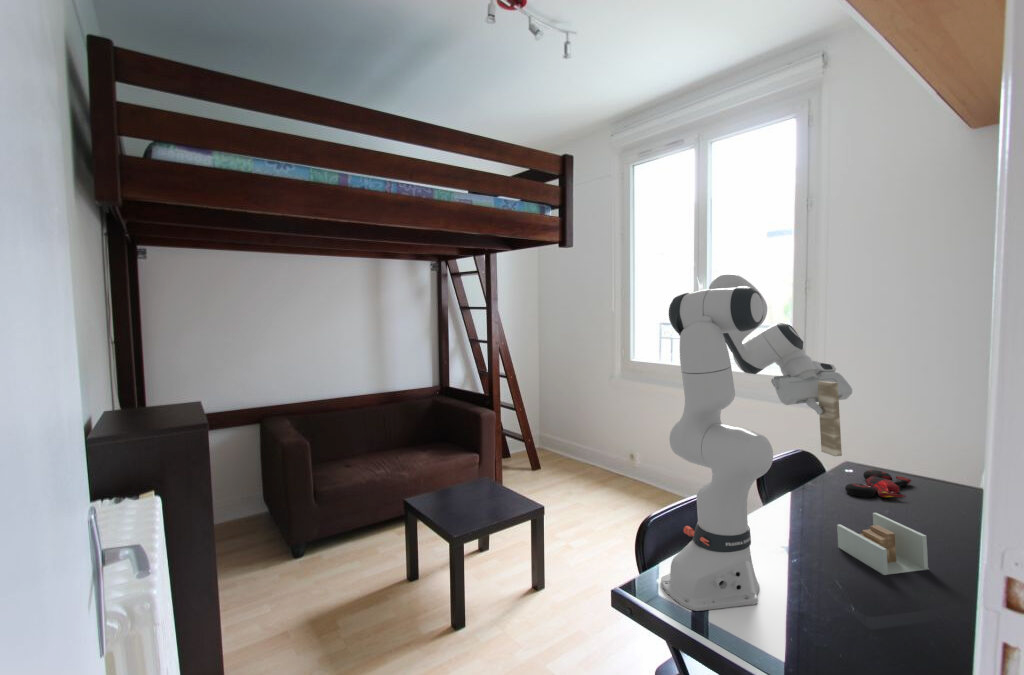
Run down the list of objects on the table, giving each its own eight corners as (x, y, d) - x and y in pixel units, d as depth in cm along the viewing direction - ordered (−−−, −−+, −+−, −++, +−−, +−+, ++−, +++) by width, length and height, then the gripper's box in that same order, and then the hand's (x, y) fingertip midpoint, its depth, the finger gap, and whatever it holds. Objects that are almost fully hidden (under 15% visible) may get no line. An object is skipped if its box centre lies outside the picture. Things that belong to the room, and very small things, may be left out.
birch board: (834, 456, 130) (830, 383, 129) (821, 451, 135) (817, 381, 134) (841, 455, 130) (837, 382, 130) (828, 450, 135) (824, 380, 134)
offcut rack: (884, 581, 112) (882, 541, 112) (838, 552, 126) (836, 517, 125) (929, 575, 113) (927, 535, 113) (879, 547, 127) (877, 512, 126)
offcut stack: (875, 565, 116) (873, 537, 116) (855, 553, 122) (853, 526, 122) (898, 562, 116) (896, 534, 116) (877, 551, 122) (875, 524, 122)
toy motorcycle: (843, 499, 163) (901, 503, 150) (840, 483, 163) (897, 487, 150) (869, 482, 177) (924, 485, 165) (866, 468, 178) (920, 469, 165)
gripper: (773, 370, 139) (797, 409, 129) (838, 364, 141) (868, 402, 131) (764, 383, 143) (787, 422, 134) (828, 377, 145) (855, 415, 136)
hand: (828, 412), depth 133 cm, fingers closed on birch board, 2 cm apart
